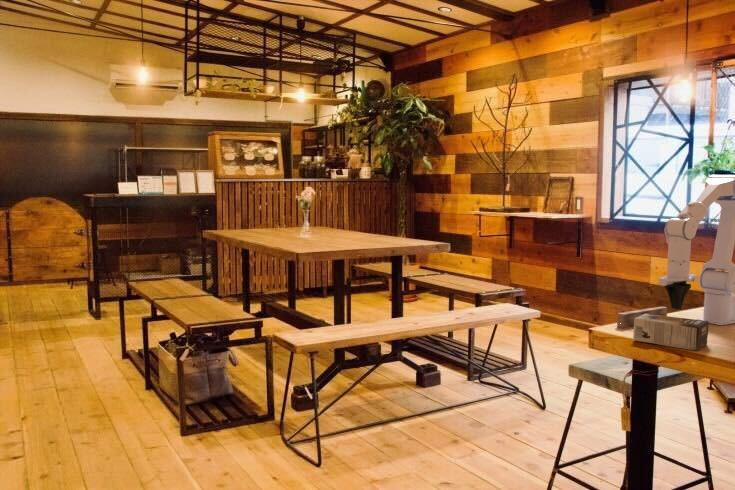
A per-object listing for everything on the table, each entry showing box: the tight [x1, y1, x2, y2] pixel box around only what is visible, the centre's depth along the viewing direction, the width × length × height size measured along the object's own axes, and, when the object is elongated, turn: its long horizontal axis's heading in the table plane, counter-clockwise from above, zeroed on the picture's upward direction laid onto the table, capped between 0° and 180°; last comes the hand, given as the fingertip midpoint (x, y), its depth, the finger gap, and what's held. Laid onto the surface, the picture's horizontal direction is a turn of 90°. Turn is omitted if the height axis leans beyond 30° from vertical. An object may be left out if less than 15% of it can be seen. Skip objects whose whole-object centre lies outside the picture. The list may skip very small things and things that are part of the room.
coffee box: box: [632, 314, 710, 352], centre depth 175 cm, size 9×6×16 cm
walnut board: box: [616, 306, 668, 329], centre depth 198 cm, size 20×2×4 cm, turn 121°
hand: (676, 308), depth 188 cm, fingers closed
